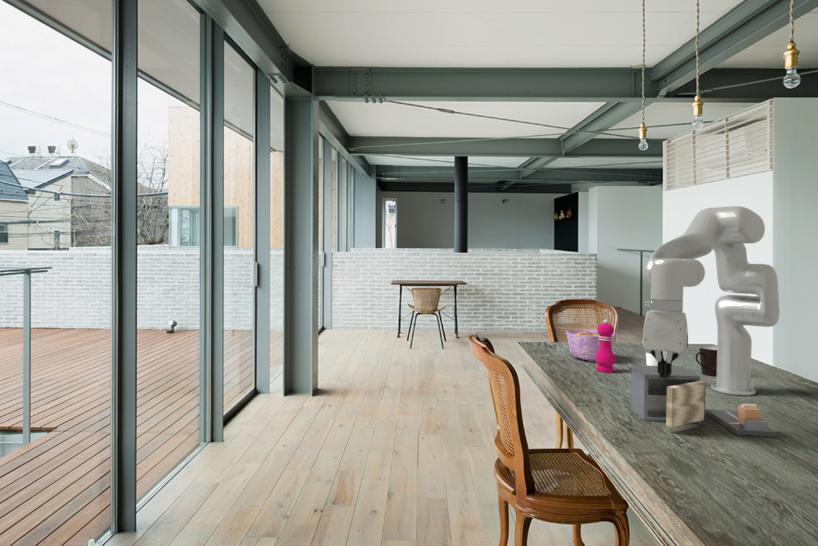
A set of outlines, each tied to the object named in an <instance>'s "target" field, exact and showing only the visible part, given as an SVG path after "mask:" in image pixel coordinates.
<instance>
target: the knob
mask: <svg viewBox="0 0 818 546" xmlns="http://www.w3.org/2000/svg"><path fill="white" fill-rule="evenodd" d="M737 410H738V422H739V423H740V424H742V425H743V426H744V420H761V418H762V417H761V413H762V410H761V409H760V408H758V404H755V403H741V404H738V405H737Z"/></svg>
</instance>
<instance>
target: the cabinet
mask: <svg viewBox="0 0 818 546" xmlns="http://www.w3.org/2000/svg"><path fill="white" fill-rule="evenodd" d="M630 376H631V379H630V380H631V381H630V409H632V410H633V411H634V412H635V413H636V414H637V416H639V417H640V418H641V419H642V420H643V421H648V422H649V421H651V422H652V421H653V422H654V421H655V422H666V409H667V387H669V386H674V385H680V384H686V383H691V382H697V381H701V380H700V379H701V377H700V375H698V374H697V373H694V372H693V371H691V370H690V369H688V368H686V367H684V366H675V365H674V366H673V365H672V371H671V375H669V377H668V378H664V377H662V378H660V377H659V376H660V374H659V373H658V366H647V365H644V364H643V365H640V364H639V365H638V364H633V365H631V374H630ZM695 423H697V424H700V421H698V422H695Z"/></svg>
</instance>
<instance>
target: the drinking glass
mask: <svg viewBox="0 0 818 546" xmlns="http://www.w3.org/2000/svg"><path fill="white" fill-rule="evenodd" d="M667 353H668V351H663V357H664V361H665V360H666V358H667ZM645 361H646V363H645V364H646V366H658V362H657V361H656V359H655V358H654V357H653V356H652V354H649V353H646V352H645Z"/></svg>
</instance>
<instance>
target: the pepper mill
mask: <svg viewBox="0 0 818 546" xmlns="http://www.w3.org/2000/svg"><path fill="white" fill-rule="evenodd" d="M596 330H597V332H598V333H599V335H600V336H599V340H600V346H599V350H598V352H597V354H596V357H595V361H594V362H595V363H596V367H595V368H596V371H597V373H602V372H603V373H604V374H605V373H606V374H609V373H610V374H612V373H614V370H615V368H614V365H615V363H616V357H615V354H614V352H613V350H612V349H613V348H612V349H611V340H612V334H613V333H615V329H614V326H613V325H612V324H611V323H609V320H608V319H606V318H605V319H604V320H603V321H602V323H601V324H599V325H598V326H597V328H596Z"/></svg>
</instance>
